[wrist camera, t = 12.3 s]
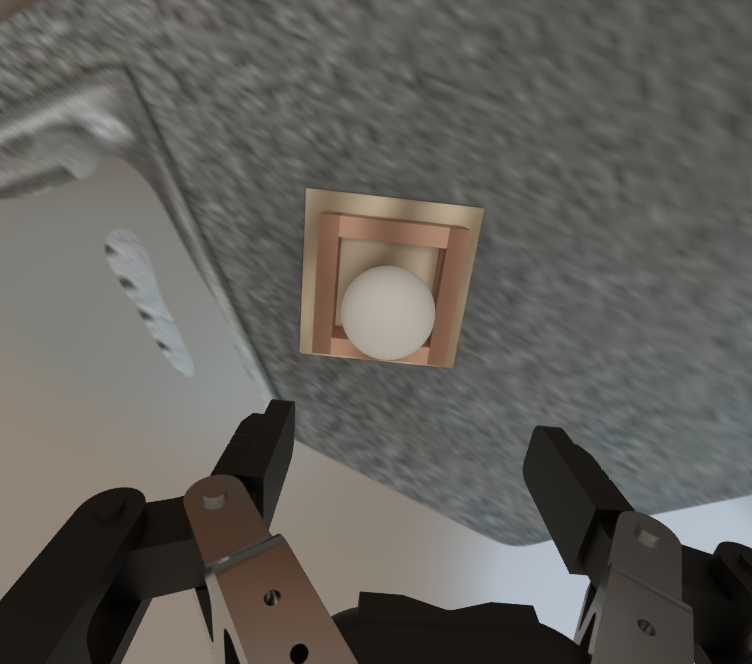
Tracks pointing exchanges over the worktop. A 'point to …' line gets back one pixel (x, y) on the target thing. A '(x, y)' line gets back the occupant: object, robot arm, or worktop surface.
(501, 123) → the worktop surface
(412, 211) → the socket stand
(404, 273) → the lightbulb
